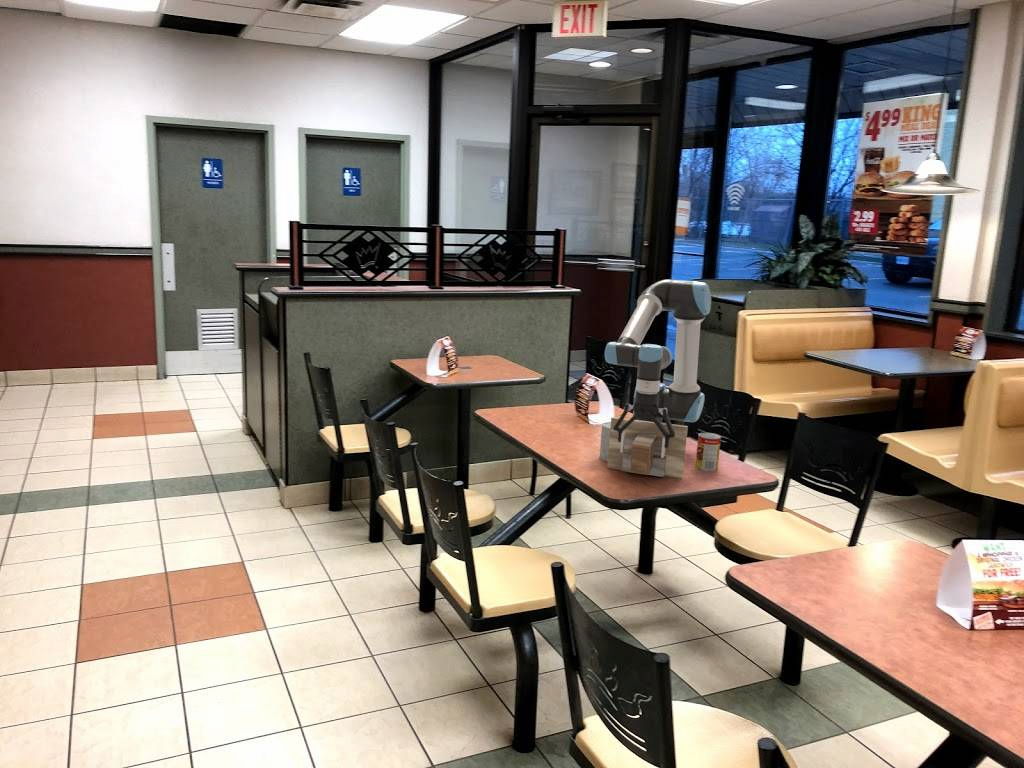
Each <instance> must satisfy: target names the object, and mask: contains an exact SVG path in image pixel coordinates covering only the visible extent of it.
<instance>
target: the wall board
mask: <svg viewBox="0 0 1024 768" xmlns="http://www.w3.org/2000/svg"><path fill="white" fill-rule="evenodd" d="M619 418H620V417H614V416H611V418H610V422H611V428H610V441H609V454H608V461H607V469H612V470H613V469H614V470H621V471H622V472H627V473H631V472H630V467H631V453H632V443H633V442H634V440H635V438H636V437H637V435H638V434H647V435H655V436H656V441H654V448H653V461H652V468H651V470H650V472H649V474H648V475H647V476H649V475H650V476H655V477H662V478H663V477H670V478H671V477H672V478H676V479H677V478H678V479H683V478H684V470H685V460H686V449H687V438H688V437H687V436H688V427H689V426H688V425H681V424H673V423H671V424H672V427H673V429H674V432H675V436H674V437H673V438H669V446H668V448H665V455H664V458H661V452H662V441H663V437H664V435H663V434H662V432H661V431H660V430H659V428H658V427H657V425H656V424H655V423H654V422H649V421H641V420H634V421H633V422H632V423H631V424H630V425H629V426H628V427H627V428H626V429H625V430H624V431H623V432H625V443H624V451H623V452H620V448H621V442H618V434H619V433H618V431H616V430H614V429H613V428H614V426H615V425H616V423H617V421H618V420H619ZM630 419H631V418H626V417H625V418H624V419H623V421H622V422H621V424H620V426H619V427H620V428H621V427H622V426H623V425H624V424H625V423H626V422H627V421H628V420H630ZM662 425H663V426H664V427H665V429H666V430H667V432H668V433H669V430H668V428H667V425H666V423H665V422H662Z"/></svg>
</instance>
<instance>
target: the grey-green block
mask: <svg viewBox="0 0 1024 768" xmlns="http://www.w3.org/2000/svg"><path fill="white" fill-rule="evenodd" d="M610 428H611V421H610V422H609V421H608V422H603V423H601V432H600V433H601V434H600V448H599V456H598V457H599V459H600V460H601V461H605V462H608V454H609V441H610Z"/></svg>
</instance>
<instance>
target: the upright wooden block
mask: <svg viewBox="0 0 1024 768" xmlns="http://www.w3.org/2000/svg"><path fill="white" fill-rule="evenodd" d="M654 441H656V436H655V435H647V434H638V435H637V437H636V438H635V440H634V442H633V443H632V453H631V467H630V472H629V473H633V474H638V475H646V476H649V475H648V474H649V472H650V470H651V468H652V461H653V448H654Z"/></svg>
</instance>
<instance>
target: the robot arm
mask: <svg viewBox="0 0 1024 768" xmlns="http://www.w3.org/2000/svg"><path fill="white" fill-rule="evenodd" d="M710 289H711V288H710V286H709V285H708V284H707V283H706V282H702V281H696V280H679V279H670V278H668V279H667V278H666V279H662V280H658V281H657V282H654V283H653V284H651V285H650V286H648V287H647V288H645V290H643V292H641V294H640V295H639V297H638V299H637V300H636V308H635V309H634V311H633V313H632V315H631V317H630V319H629V320H628V322H627V324H626V326H625V327H624V329H623V331H622V333H621V335H620V336H619V338H618V340H617V341H610V342H607V344H606V346H605V349H604V359H605V362H606V363H608V364H612V365H616V366H624V367H634V368H637V374H636V386H635V390H634V395H633V404H630V403H629V402H628V403H626V404H625V405H624V409H623V412H622V413H621V415H620V417H618V418H619V420H618V421H617V423H616V425H615V426H614V428H613V429H614V430H616V431H618V433H619V434H618V442H621V448H620V452H623V451H624V443H625V432H623V431H624V430H625V429H626V428H627V427H628V426H629V425H630V424H631V423H632V422H633V421H634V420H641V421H649V422H654V423H655V424H656V425H657V427H658V428H659V430H660V431H661V432H662V434H663V435H664V437H663V441H662V452H661V458H664V455H665V448H668V446H669V438H673V437H674V436H675V432H674V429H673V427H672V424H673V423H672V422H671V420H672V421H679V422H684V423H685V422H687V423H695V422H697V421H698V420H699V419H700V416H701V415H702V411H703V408H704V404H705V394H704V393H703V392H701V386H700V385H699V384H698V383H697V381H698V380H697V379H698V368H699V367H698V365H699V350H700V349H699V348H700V338H701V323H702V322H703V321H704V320H705V318H706V316H707V315H709V314H710V312H711V307H712V295H711V290H710ZM664 311H667V312H673V319H674V320H675V321H676V331H675V333H676V337H675V350H674V351H675V353H674V354H675V355H674V368H673V369H674V370H673V382H671V384H669V386H668V387H669V388H666V387H667V386H666V384H665V383H662V382H661V372H662V370H664V369H666V368H668V367H669V366H670V365H671V364H672V361H673V353H672V352H671V350H670V349H669V348H668V346H667V347H666V346H664V345H663V346H661V345H658V344H651V343H643V344H641V343H642V342H643V340H644V338H645V336H646V334H647V332H648V331H649V329H650V327H651V325H652V323H653V321H654V319H655V317H656V316H658V315H660V314H661V312H664ZM631 411H632V417H631V418H629V419H630V420H628V421H627V422H626V423H625V424H624V425H623V426H622V427H621V428H620V427H619V426H620V424H621V422H622V421H623V419H624V418H625V419H626V416H627V414H628V413H629V412H631ZM663 420H664V423H666V425H667V428H668V430H669V433H668V432H667V430H666V429H665V427H664V426H663V425H662V423H663Z"/></svg>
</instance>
